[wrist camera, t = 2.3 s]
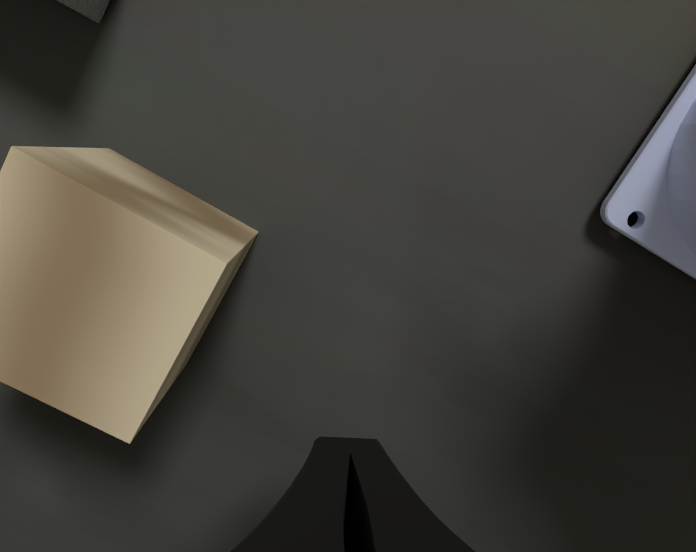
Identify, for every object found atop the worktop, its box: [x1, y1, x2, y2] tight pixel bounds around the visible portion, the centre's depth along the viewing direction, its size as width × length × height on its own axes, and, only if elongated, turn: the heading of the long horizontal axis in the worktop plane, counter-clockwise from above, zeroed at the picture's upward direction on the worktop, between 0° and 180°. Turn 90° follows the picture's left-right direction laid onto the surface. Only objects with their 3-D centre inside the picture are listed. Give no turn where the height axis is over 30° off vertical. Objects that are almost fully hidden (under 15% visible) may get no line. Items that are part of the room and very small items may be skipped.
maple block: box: [0, 146, 258, 444], centre depth 14 cm, size 5×5×5 cm
